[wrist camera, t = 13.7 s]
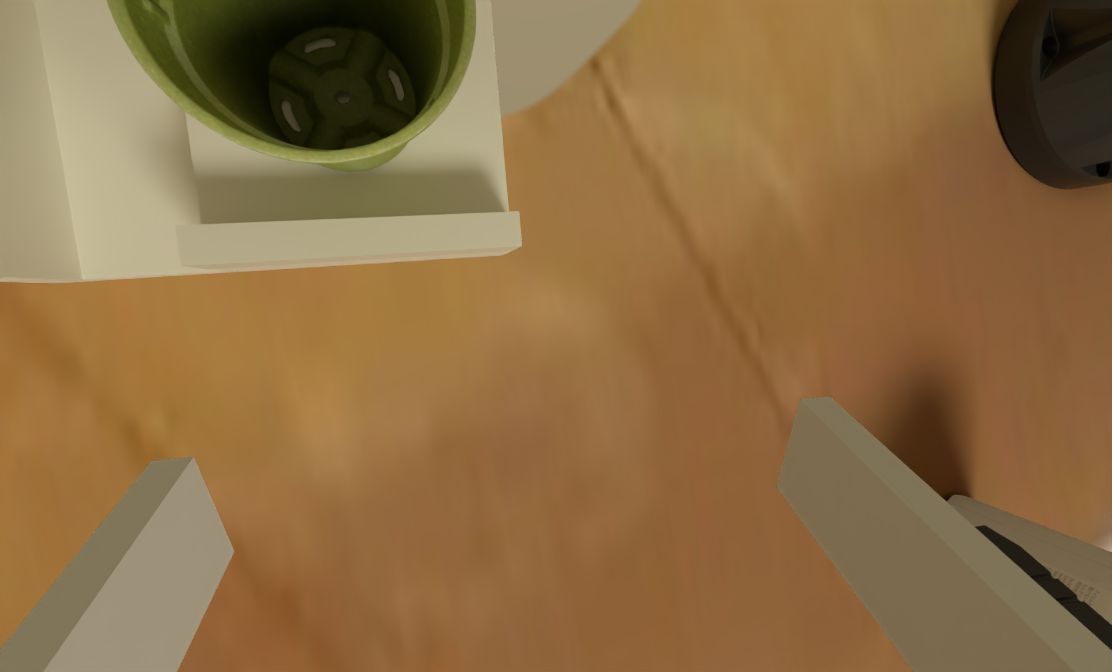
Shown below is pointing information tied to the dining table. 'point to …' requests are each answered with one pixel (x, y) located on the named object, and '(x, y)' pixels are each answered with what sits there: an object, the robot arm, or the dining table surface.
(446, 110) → the bracket shelf
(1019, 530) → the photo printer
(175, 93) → the plant pot
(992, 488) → the dining table surface
